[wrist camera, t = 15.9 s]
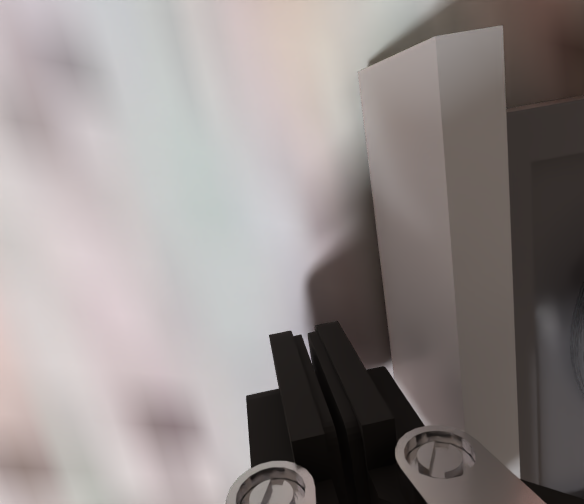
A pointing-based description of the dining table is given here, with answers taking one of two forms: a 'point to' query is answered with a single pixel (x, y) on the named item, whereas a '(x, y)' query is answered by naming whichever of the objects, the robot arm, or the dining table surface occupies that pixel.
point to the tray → (480, 249)
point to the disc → (578, 340)
